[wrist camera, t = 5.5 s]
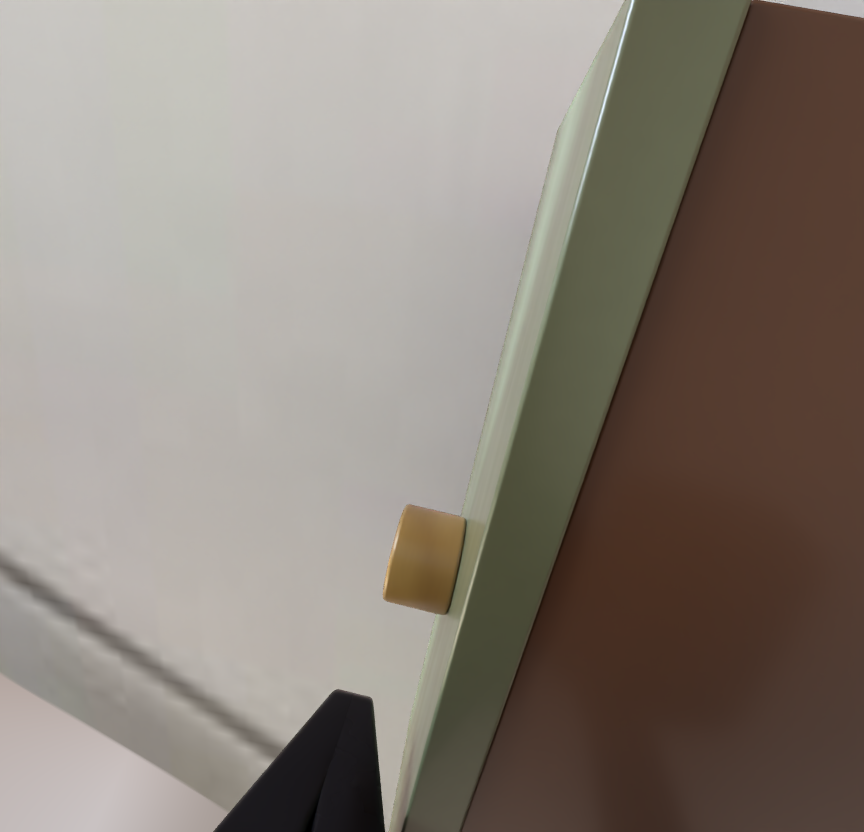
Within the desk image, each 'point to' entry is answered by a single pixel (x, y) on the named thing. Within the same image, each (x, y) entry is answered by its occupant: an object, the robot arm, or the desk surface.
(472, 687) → the drawer
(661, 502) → the drawer unit
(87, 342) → the desk surface
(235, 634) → the desk surface
